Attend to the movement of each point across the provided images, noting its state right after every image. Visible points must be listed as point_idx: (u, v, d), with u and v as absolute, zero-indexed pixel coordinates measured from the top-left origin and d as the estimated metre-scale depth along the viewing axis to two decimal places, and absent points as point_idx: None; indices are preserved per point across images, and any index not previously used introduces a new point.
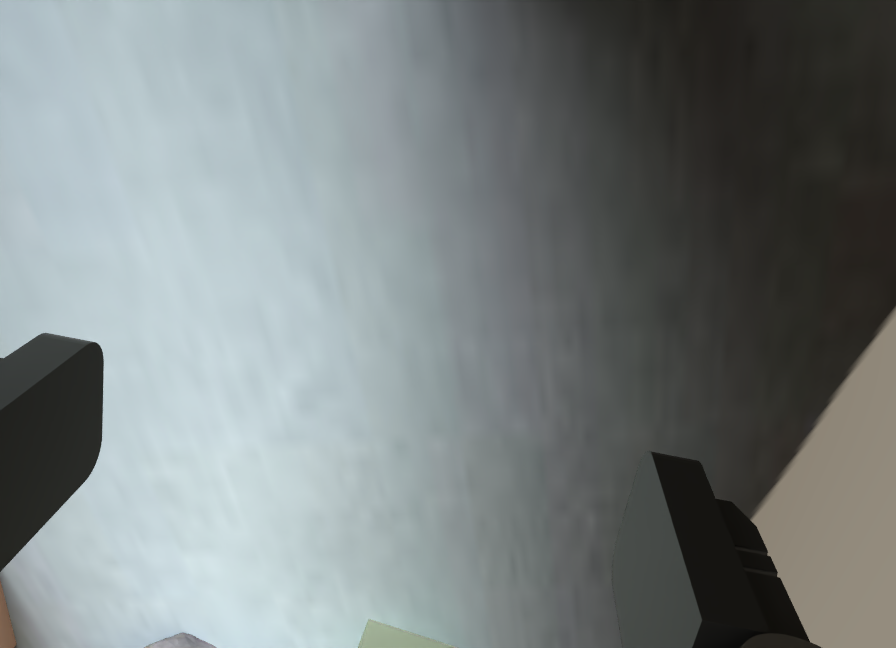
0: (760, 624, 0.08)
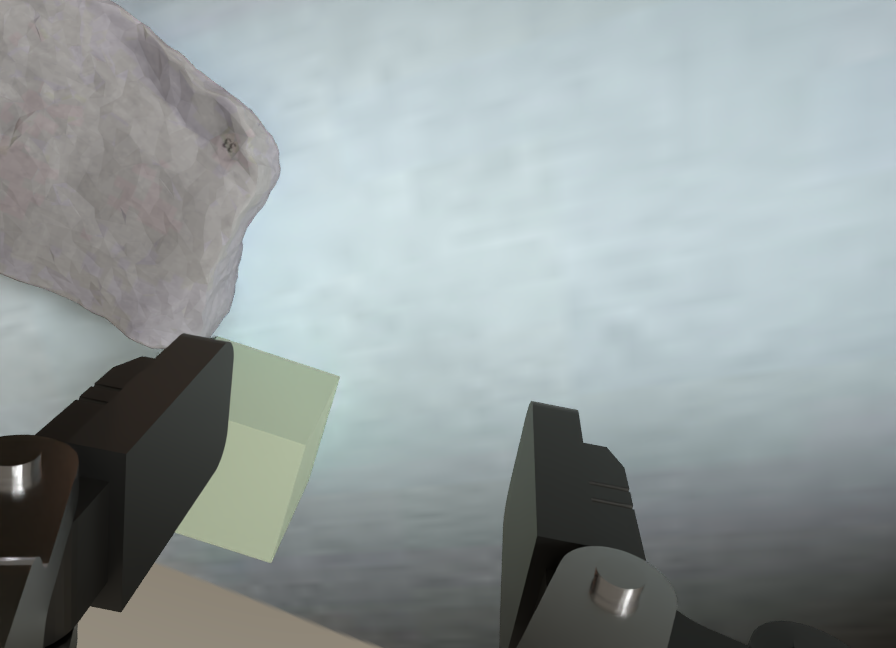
0: (591, 540, 0.09)
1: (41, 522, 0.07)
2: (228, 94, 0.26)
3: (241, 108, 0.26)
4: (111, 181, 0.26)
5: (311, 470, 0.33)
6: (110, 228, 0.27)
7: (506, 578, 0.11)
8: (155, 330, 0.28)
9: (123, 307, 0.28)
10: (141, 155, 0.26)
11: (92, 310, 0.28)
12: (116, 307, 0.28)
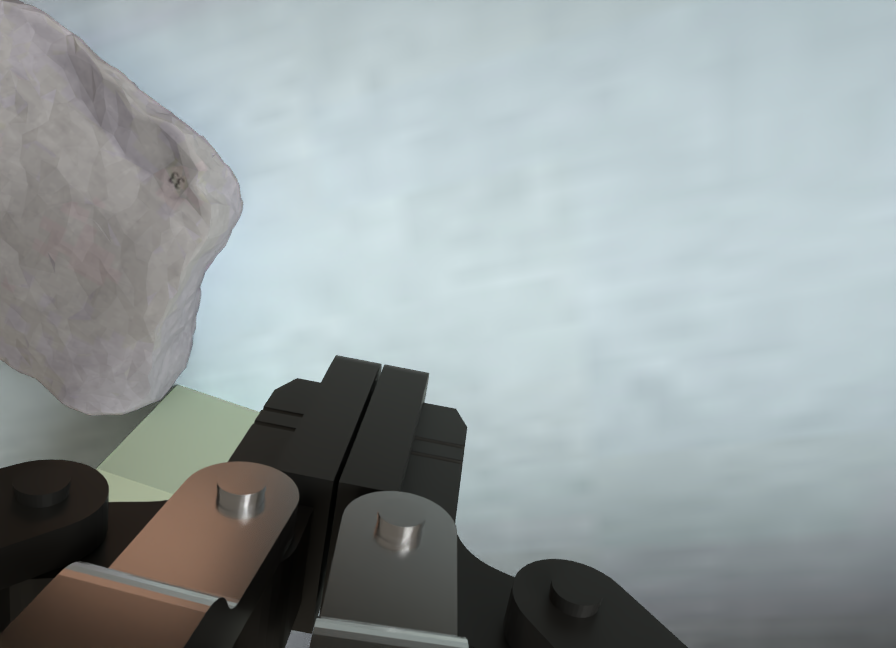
0: (394, 487, 0.09)
1: (245, 558, 0.08)
2: (175, 119, 0.22)
3: (191, 137, 0.22)
4: (36, 223, 0.22)
5: None
6: (36, 277, 0.23)
7: None
8: (93, 395, 0.24)
9: (55, 368, 0.24)
10: (71, 192, 0.22)
11: (20, 370, 0.24)
12: (47, 368, 0.24)
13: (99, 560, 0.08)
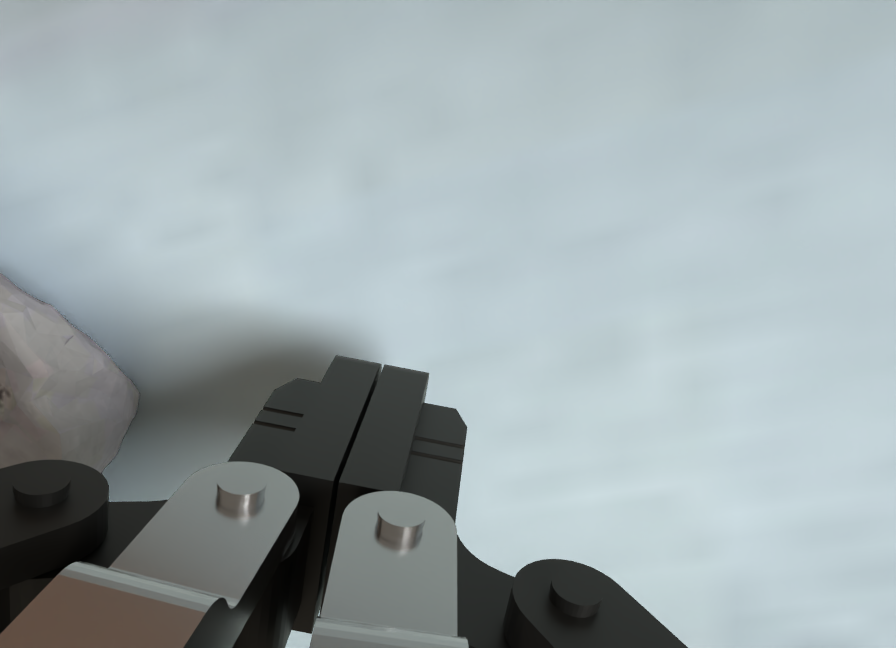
0: (394, 487, 0.09)
1: (245, 558, 0.08)
2: None
3: (19, 317, 0.12)
4: None
5: None
6: None
7: None
8: None
9: None
10: None
11: None
12: None
13: (99, 561, 0.08)
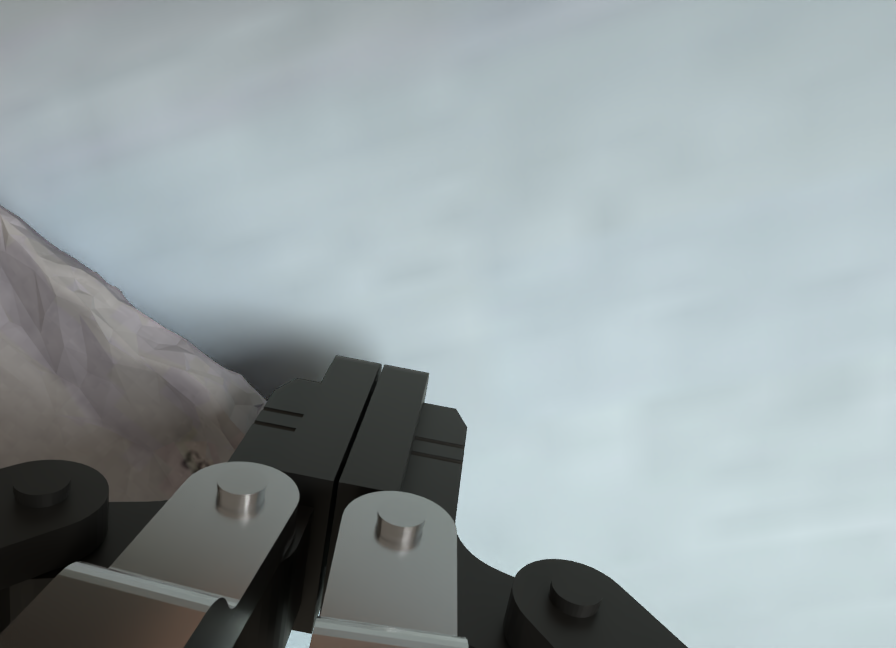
0: (394, 487, 0.09)
1: (246, 558, 0.08)
2: (191, 357, 0.12)
3: (221, 390, 0.12)
4: None
5: None
6: None
7: None
8: None
9: None
10: None
11: None
12: None
13: (99, 560, 0.08)
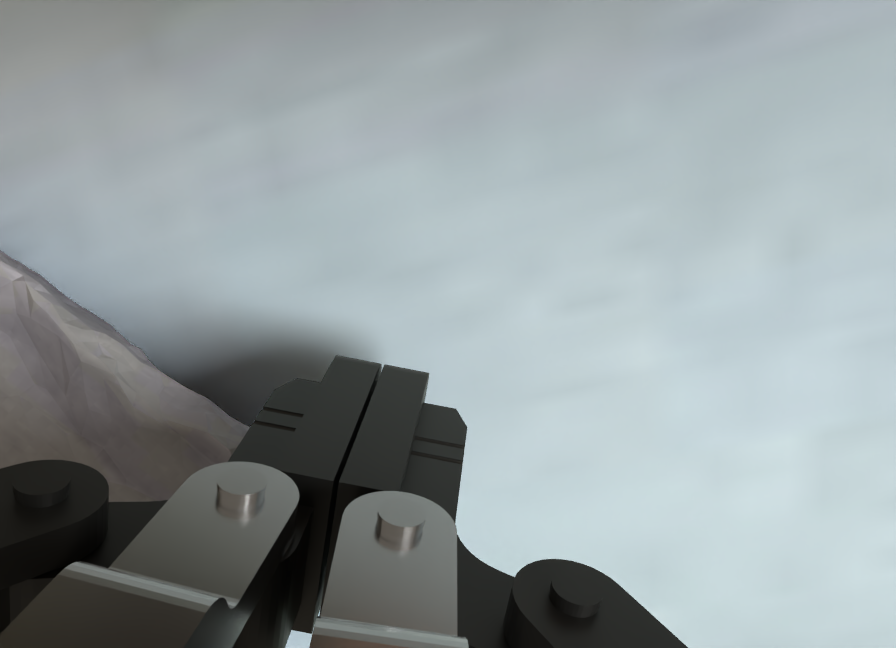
0: (394, 487, 0.09)
1: (245, 557, 0.08)
2: (212, 417, 0.12)
3: None
4: None
5: None
6: None
7: None
8: None
9: None
10: None
11: None
12: None
13: (99, 560, 0.08)
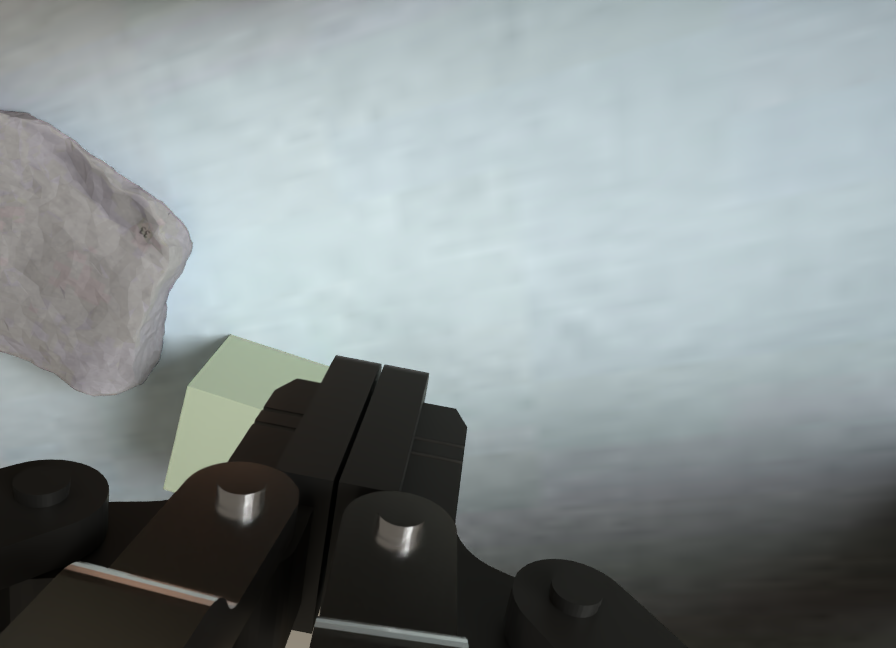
0: (394, 487, 0.09)
1: (246, 557, 0.08)
2: (142, 191, 0.33)
3: (153, 202, 0.32)
4: (51, 265, 0.33)
5: None
6: (52, 302, 0.33)
7: None
8: (95, 381, 0.35)
9: (67, 364, 0.34)
10: (73, 243, 0.33)
11: (43, 367, 0.35)
12: (62, 364, 0.34)
13: (99, 560, 0.08)
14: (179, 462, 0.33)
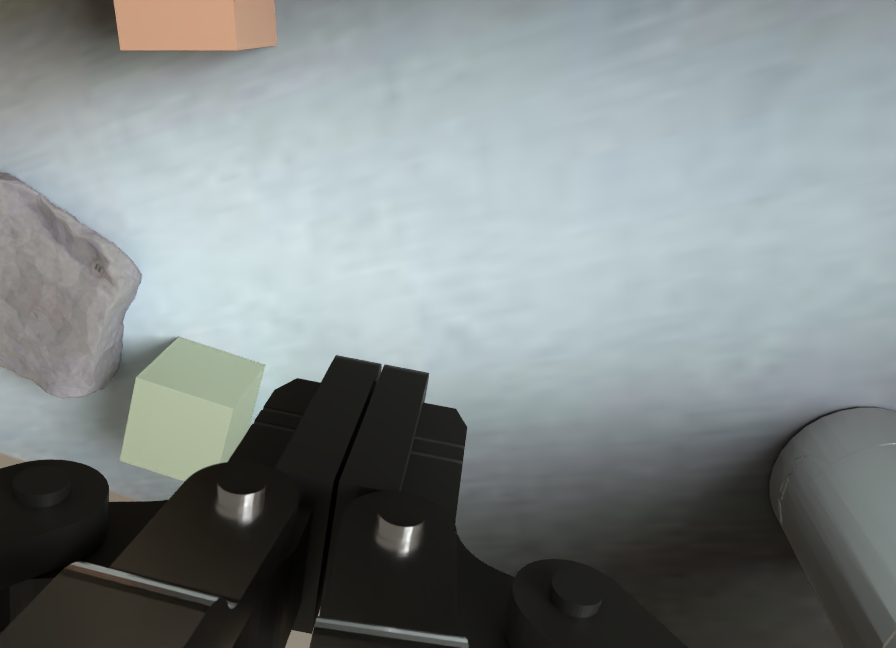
0: (394, 487, 0.09)
1: (245, 558, 0.08)
2: (96, 235, 0.41)
3: (105, 245, 0.41)
4: (26, 295, 0.41)
5: None
6: (28, 324, 0.42)
7: None
8: (63, 386, 0.43)
9: (41, 373, 0.43)
10: (43, 278, 0.41)
11: (22, 375, 0.43)
12: (37, 373, 0.43)
13: (98, 560, 0.08)
14: (131, 439, 0.41)
